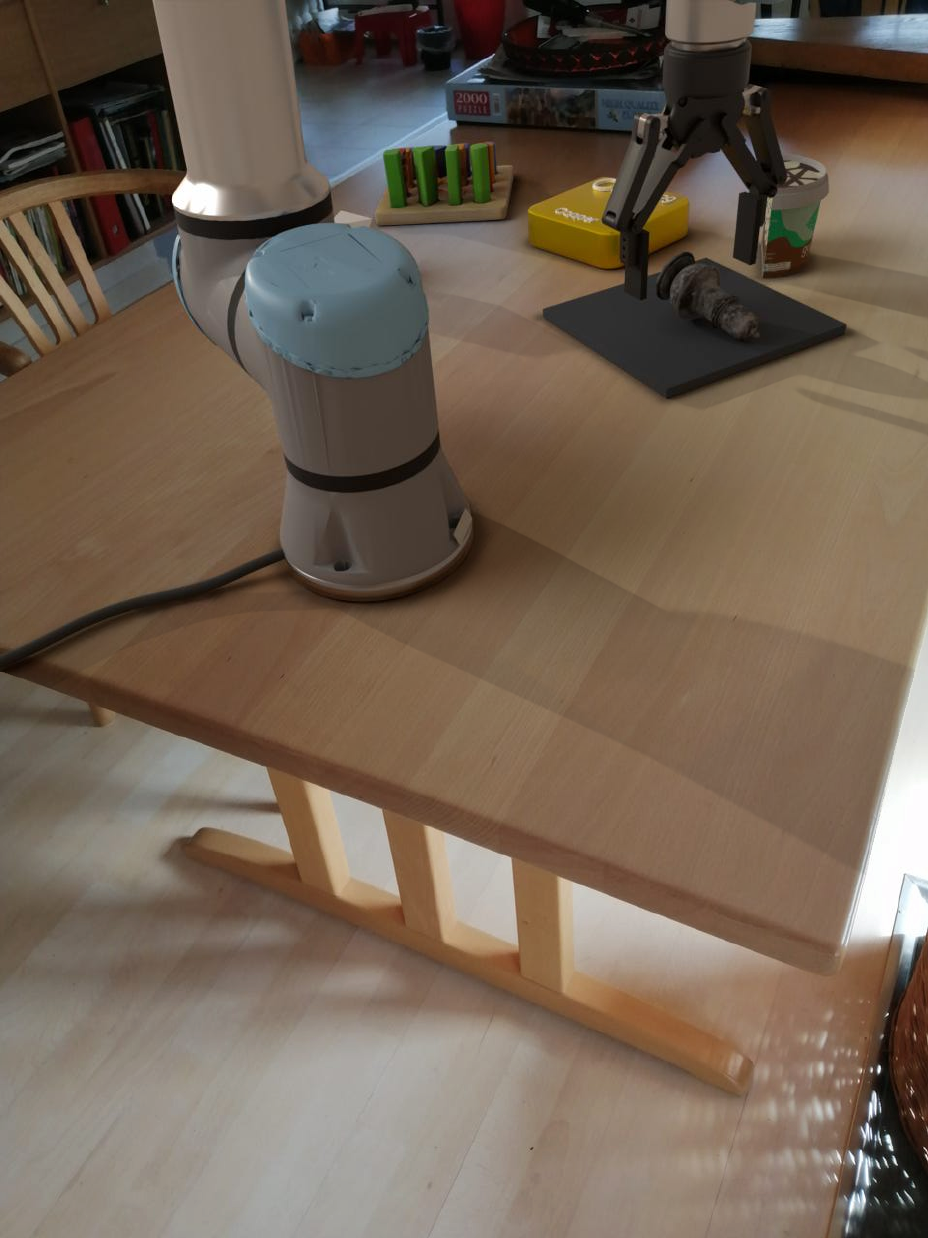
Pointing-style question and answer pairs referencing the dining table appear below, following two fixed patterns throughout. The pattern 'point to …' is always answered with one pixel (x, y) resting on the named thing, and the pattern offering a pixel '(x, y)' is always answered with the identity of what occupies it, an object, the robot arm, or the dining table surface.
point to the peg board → (444, 185)
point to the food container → (792, 217)
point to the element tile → (599, 224)
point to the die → (355, 220)
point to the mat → (689, 332)
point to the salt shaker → (704, 296)
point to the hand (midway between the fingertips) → (690, 277)
